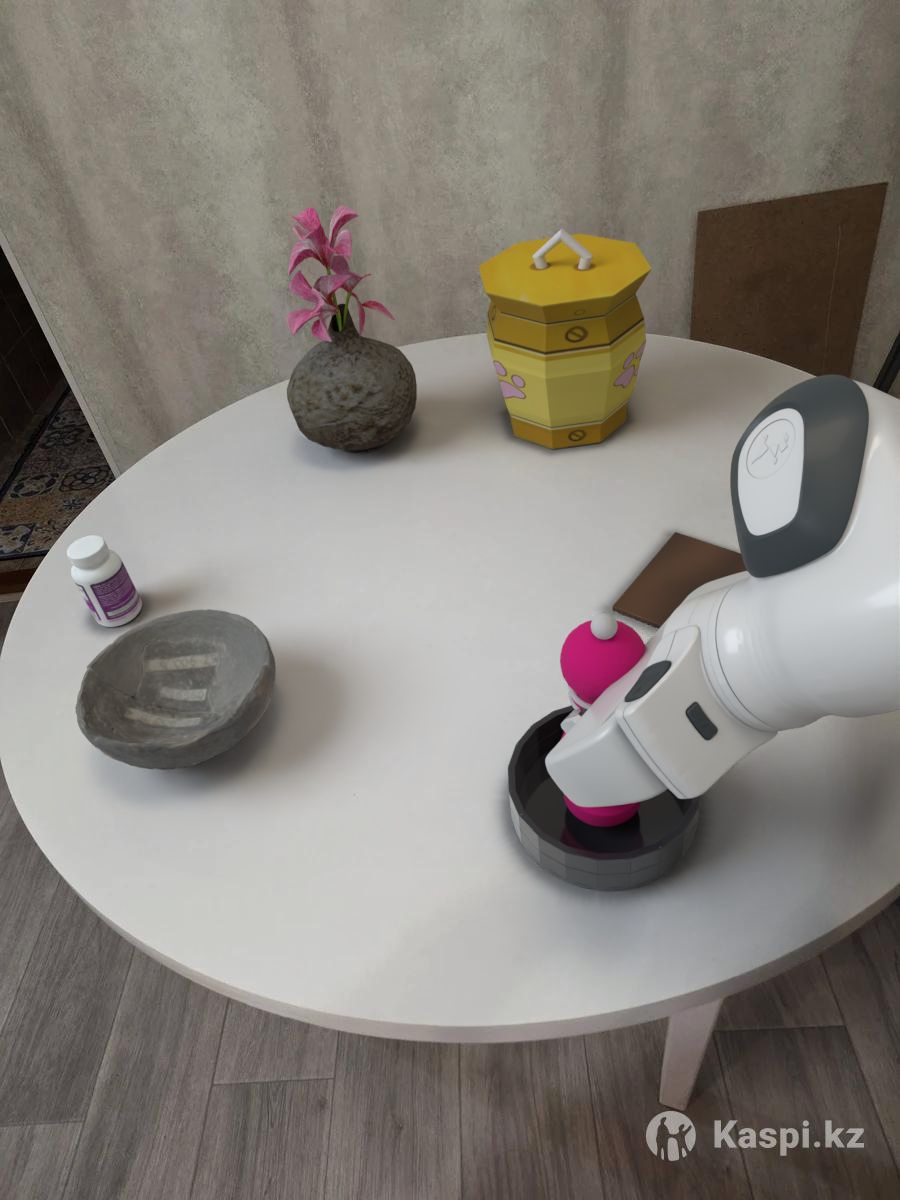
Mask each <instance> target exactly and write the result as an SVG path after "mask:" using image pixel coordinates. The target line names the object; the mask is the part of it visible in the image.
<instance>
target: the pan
mask: <svg viewBox="0 0 900 1200" xmlns="http://www.w3.org/2000/svg"><path fill="white" fill-rule="evenodd" d="M573 710H575V709H574V708H573V707H572V705H571V704H570V705H568V706H565V707H562V708H558V709H555V710H552V711H551V712H550V713H548V714H547V715H545V716H543V717H542V718H540V719H539V720H537V721H536V722H534V723H532V725H530V727H528V729H527V730H526V731H525V732H524V734H523V735H522V736H521V738H520V739H518V741H517V742H516V744H515V746H514V748H513V751H512V754H511V756H510V760H509V763H508V765H507V783H508V784H507V785H508V787H507V788H508V789H507V791H508V798H509V807H510V808H509V809H510V816H511V822H512V824H513V826H514V830H515V833H516V835H517V837H518V840H519V842H520V843H521V845H522V847H523V848H524V850H525V851H526V852H527V854H528V855H529V856H530V857H531V858H532V860H534V861H535V863H536V864H538V865H539V866H540V867H541V868H542V869H544V870H545V871H546V872H548V873H549V874H551V875H552V876H554V877H555V878H557V879H560V880H562V881H563V882H566V883H569V884H571V885H574V886H577V887H580V888H585V889H589V890H596V891H622V890H623V891H624V890H630V889H634V888H638V887H642V886H645V885H647V884H650V883H652V882H654V881H656V880H658V879H660V878H662V877H663V876H665V875H667V874H668V873H669V872H670V871H671V870H673V869H674V868H675V867H676V866H677V865H678V864H679V863H680V862H681V861H682V860H683V859H684V858H685V855H686V854H687V853H688V851H689V849H690V848H691V845H692V844H693V842H694V839H695V837H696V832H697V828H698V827H697V826H698V820H699V815H700V808H701V803H702V801H701V800H702V795H700V796H698V797H695V798H691V799H679V798H677V797H676V796H675V795H674V794H673V793H672V792H671V791H670V790H669V789H667V790H665V791H664V792H662V793H661V794H659V795H657V796H655V797H653V798H650V799H648V800H644V801H641V804H640V807H639V809H638V810H637V812H636V813H635V814H634V815H633V816H632V817H631V818H630V819H629V820H627V821H626V822H624V823H622V824H619V825H615V826H609V827H600V826H593V825H590V824H587V823H585V822H583V821H581V820H579V819H578V818H577V817H575V816H574V815H573V814H572V812H571V811H570V810H569V808H568V807H567V805H566V803H565V799H564V793H563V792H562V791H561V789H560V788H559V787H558V786H557V784H556V783H555V782H554V780H553V779H552V778H551V776H550V774H549V773H548V771H547V768H546V764H545V759H546V757H547V755H548V754H549V753H550V751H551V750H552V749H553V748H554V747H555V746H556V745H557V744H558V743H559V742H560V740H561V738H562V736H563V733H564V730H563V729H562V728H561V723H562V722H563V721H564V720H565V719H566V717H567V716H568V715H569V714H570V713H571V712H572V711H573Z"/></svg>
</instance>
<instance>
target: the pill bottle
mask: <svg viewBox="0 0 900 1200" xmlns="http://www.w3.org/2000/svg"><path fill="white" fill-rule="evenodd" d="M66 555H67V558H68V559H69V561H70V563H71V568H70V575H71V578H72V580H73V582H74V584H75V586H76V587H77V589H78V591H79V593H80V595H81V597H82V598H83V600H84V602H85V604H86V606H87V608H88V609H89V611H90V613H91V614H92V616H93V618H94V619H95V622H97V623H98V624H99V625H101V626H103V627H107V628H115V627H120V626H123V625H125V624H128V623H129V622H131V621H132V620H133V619H135V618H136V617H137V616H138V615H139V613H140V612H141V610H142V607H143V602H142V599H141V596H140V595H139V593H138V590H137V589H136V587H135V584H134V582H133V580H132V578H131V576H130V574H129V572H128V570H127V568H126V566H125V564H124V562H123V560H122V558H121V556H120V555H119V554H118V552H116V551H114V550H112V549H110V548H109V546H108V544H107V542H106V540H105V539H104V538H103V537H102V536H100V535H97V534H96V535H95V534H92V535H91V534H90V535H86V536H83V537H80V538H78V539H76V540H74V541H73V542H72V543H71V544H70V545H69V546H68V548H67V549H66Z"/></svg>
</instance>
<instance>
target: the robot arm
mask: <svg viewBox="0 0 900 1200" xmlns="http://www.w3.org/2000/svg"><path fill="white" fill-rule="evenodd" d="M730 463H731V464H730V474H729V477H730V478H729V481H730V483H729V485H730V488H729V489H730V497H731V503H732V504H731V506H732V512H733V520H734V525H735V532H736V537H737V538H736V539H737V542H738V548H739V550H740V553H741V555H742V559H743V562H744V565H745V567H746V569H747V571H744V572H740V573H736V574H733V575H729V576H726V577H723V578H720V579H717V580H714V581H711V582H708V583H706V584H704V585H702V586H700V587H699V588H697V589H696V590H694V591H693V592H692V593H690V594H689V595H688V596H687V597H686V599H685V600H684V601H683V602H682V603H681V604H680V606H679V607H678V608H677V609H676V610H675V611H674V612H673V613H672V615H671V616H670V617H669V618H668V619H667V620H666V621H665V623H664V624H663V625H662V626H661V627H660V628H657V630H656V632H654V634H653V635H652V636H651V637H650V638H649V639H648V640H647V642H646V643H645V642H644V644H645V647H646V650H645V653H644V655H643V657H642V658H641V659H640V660H639V662H638V663H637V664H636V665H635V666H634V667H633V668H632V669H631V670H630V671H629V672H628V673H626V674H625V675H624V676H623V677H621V678H620V679H619V680H617V681H616V682H615V683H613V684H612V685H610V686H609V687H608V688H607V689H606V690H605V691H604V692H603V693H602V694H601V695H600V696H599V697H598V698H597V700H596V701H595V702H594V703H593V704H592V705H591V706H590V708H589V709H588V710H586V709H585V708H580V709H578V710H573V711H572V712H571V713H570V714H569V715H568V716H567V717H566V719H565V720H564V721H563V722H562V723H561V728H562V729H563V730H564V732H565V733H566V735H565V736H564V737H563V738H562V739H561V740H560V742H559V743H558V744H557V745H556V746H555V747H554V748H553V749H552V750H551V751H550V753H549V754H548V755H547V757H546V759H545V764H546V768H547V771H548V773H549V774H550V776H551V778H552V779H553V780H554V782H555V783H556V784H557V786H558V787H559V788H560V789H561V791H562V792H563V793H564V794H565V795H566V796H567V797H568V798H569V799H570V800H571V801H572V802H573V803H574V804H576V805H578V806H581V807H605V806H616V805H624V804H631V803H637V802H641V801H644V800H648V799H650V798H653V797H655V796H657V795H659V794H661V793H662V792H664V791H665V790H667V789H669V790H670V791H671V792H672V793H673V794H674V795H675V796H676V797H677V798H679V799H691V798H695V797H698V796H700V795H701V796H702V795H703V794H705V793H706V792H707V791H708V790H709V789H711V787H712V786H714V785H715V783H717V782H718V781H719V780H720V779H721V778H722V777H723V776H724V775H725V774H726V773H727V772H729V771H730V770H732V768H733V767H734V766H736V765H737V764H738V763H739V762H740V761H741V760H743V759H745V757H747V756H748V755H750V754H751V753H752V752H754V751H756V750H757V749H759V748H760V747H762V746H764V745H766V744H767V743H769V742H771V741H772V740H773V739H774V738H775V737H777V735H778V733H779V732H783V731H788V730H794V729H795V730H796V729H799V728H804V727H806V726H809V725H811V724H813V723H815V722H817V721H819V720H821V719H822V718H824V717H828V716H835V717H842V718H854V719H855V718H857V719H858V718H865V717H866V718H867V717H872V716H877V715H882V714H883V715H884V714H888V713H892V712H893V713H894V712H897V711H900V398H897V397H895V396H893V395H890V394H888V393H886V392H885V391H881V390H879V389H877V388H875V387H873V386H871V385H868V384H866V383H864V382H861V381H858V380H855V379H851V378H850V377H847V376H844V375H841V374H823V375H819V376H815V377H811V378H809V379H806V380H803V381H801V382H799V383H797V384H795V385H793V386H791V387H790V388H787V389H786V390H784V391H783V392H782V393H780V394H779V395H777V396H776V397H775V398H773V400H772V401H769V403H767V404H766V406H765V407H764V408H762V409H761V410H760V411H759V413H758V414H757V415H756V416H755V417H754V418H753V420H752V421H751V422H750V423H749V425H748V426H747V427H746V428H745V430H744V432H743V433H742V435H741V437H740V439H739V440H738V442H737V444H736V446H735V448H734V451H733V454H732V457H731V462H730Z"/></svg>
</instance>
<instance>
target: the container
mask: <svg viewBox="0 0 900 1200" xmlns="http://www.w3.org/2000/svg"><path fill="white" fill-rule="evenodd" d="M645 257H646V256H644V254H643V253H642V251H641V249H640V248H639V247H638V245H637V243H636V242H630V241H625V240H620V239H619V240H618V239H613V238H609V237H602V236H596V235H592V234H591V235H590V234H585V233H575V234H570V233H568V232H567V230H565V229H564V228H563V227H561V229H559V231H557V232H556V233H555V234H554V235H553V236H552V237H547V238H539V239H533V240H525V241H519V242H516V243H514V244H513V245H511V246H510V247H508V248H506V249H504V250H503V251H501V252H500V253H498V254H496V255H494V256H493V257H491V258H489V259H488V260H486V261H484V262H483V263H481V264H479V265H478V269H479V273H480V276H481V281H482V284H483V288H484V292H485V294H486V296H488V298H489V299H490V304H489V306H488V310H487V318H486V319H487V320H486V339H487V342H488V346H489V350H490V354H491V359H492V363H493V366H494V369H495V372H496V375H497V378H498V380H499V385H500V388H501V391H502V395H503V399H504V403H505V407H506V408H507V411H508V412H507V413H508V416H509V421H510V425H511V429H512V433H513V436H514V438H517V439H520V440H522V441H526V442H527V443H528V442H529V443H531V444H533V445H534V444H535V445H537V446H540V447H543V448H546V449H549V450H552V451H555V450H561V449H562V450H563V449H570V448H576V447H584V446H591V445H598V444H602V443H603V442H604V441H605V440H606V439H607V438H609V437H610V436H611V435H613V433H614V432H616V431H617V430H618V429H619V428H621V426H623V425H624V424H625V423H626V422H627V415H628V413H627V412H628V404H629V401H630V400H631V396H632V394H633V392H634V390H635V386H636V382H637V378H638V373H639V368H640V364H641V361H642V357H643V354H644V352H645V348H646V345H647V336H646V335H647V334H646V324H645V316H644V314H643V311H642V308H641V305H640V302H639V299H638V297H637V296H638V295H637V292H638V290H639V289H640V287H641V286H642V284H643V283H644V281H645V280H646V278H647V277H648V275H649V274H650V273H651V271H652V269H653V268H652V267H651V265H650V263H649V262H648V260H647V258H645Z"/></svg>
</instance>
